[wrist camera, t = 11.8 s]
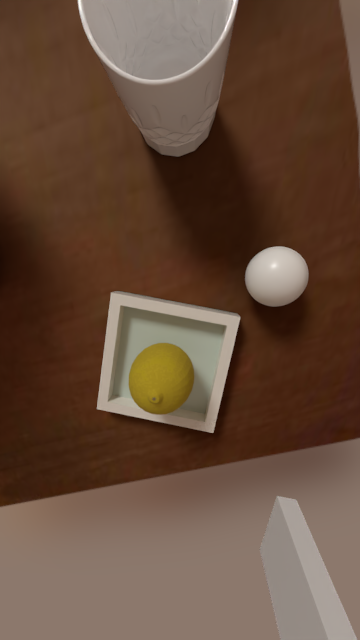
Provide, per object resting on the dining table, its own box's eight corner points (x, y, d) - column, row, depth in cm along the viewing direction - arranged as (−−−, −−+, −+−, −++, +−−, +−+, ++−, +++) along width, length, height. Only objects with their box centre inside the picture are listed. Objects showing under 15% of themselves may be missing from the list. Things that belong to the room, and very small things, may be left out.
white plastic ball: (235, 297, 24) (244, 304, 20) (247, 244, 23) (260, 237, 19) (286, 307, 24) (309, 316, 19) (301, 254, 23) (328, 250, 18)
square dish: (103, 399, 28) (96, 408, 26) (118, 290, 25) (111, 292, 23) (212, 421, 27) (213, 433, 25) (237, 313, 25) (240, 317, 23)
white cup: (223, 159, 22) (243, 72, 12) (135, 169, 23) (89, 94, 13) (219, 54, 21) (237, -139, 11) (125, 68, 21) (64, -102, 12)
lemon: (185, 326, 25) (179, 352, 17) (201, 377, 26) (203, 424, 18) (133, 342, 26) (104, 374, 18) (151, 391, 26) (131, 442, 19)
